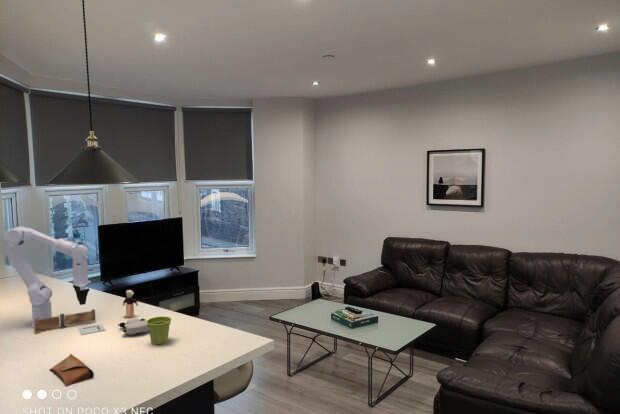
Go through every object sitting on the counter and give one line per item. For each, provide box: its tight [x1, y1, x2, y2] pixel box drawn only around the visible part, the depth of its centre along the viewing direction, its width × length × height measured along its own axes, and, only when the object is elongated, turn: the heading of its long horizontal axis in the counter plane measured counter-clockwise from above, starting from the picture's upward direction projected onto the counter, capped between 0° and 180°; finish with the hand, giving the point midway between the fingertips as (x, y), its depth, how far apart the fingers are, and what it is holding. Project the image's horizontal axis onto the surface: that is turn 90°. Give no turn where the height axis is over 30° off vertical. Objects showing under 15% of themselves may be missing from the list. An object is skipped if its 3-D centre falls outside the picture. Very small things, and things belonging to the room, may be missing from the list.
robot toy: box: [117, 317, 149, 336], centre depth 180 cm, size 12×4×15 cm
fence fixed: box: [33, 315, 68, 335], centre depth 182 cm, size 5×12×6 cm, turn 124°
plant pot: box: [145, 315, 172, 345], centre depth 168 cm, size 9×9×9 cm
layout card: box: [78, 323, 106, 336], centre depth 182 cm, size 9×9×1 cm
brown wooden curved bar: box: [59, 308, 96, 326], centre depth 188 cm, size 14×2×5 cm, turn 124°
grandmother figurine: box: [122, 289, 139, 319], centre depth 197 cm, size 8×4×13 cm, turn 92°
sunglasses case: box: [49, 353, 95, 387], centre depth 142 cm, size 18×7×7 cm
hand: (81, 302), depth 192 cm, fingers open, 7 cm apart
